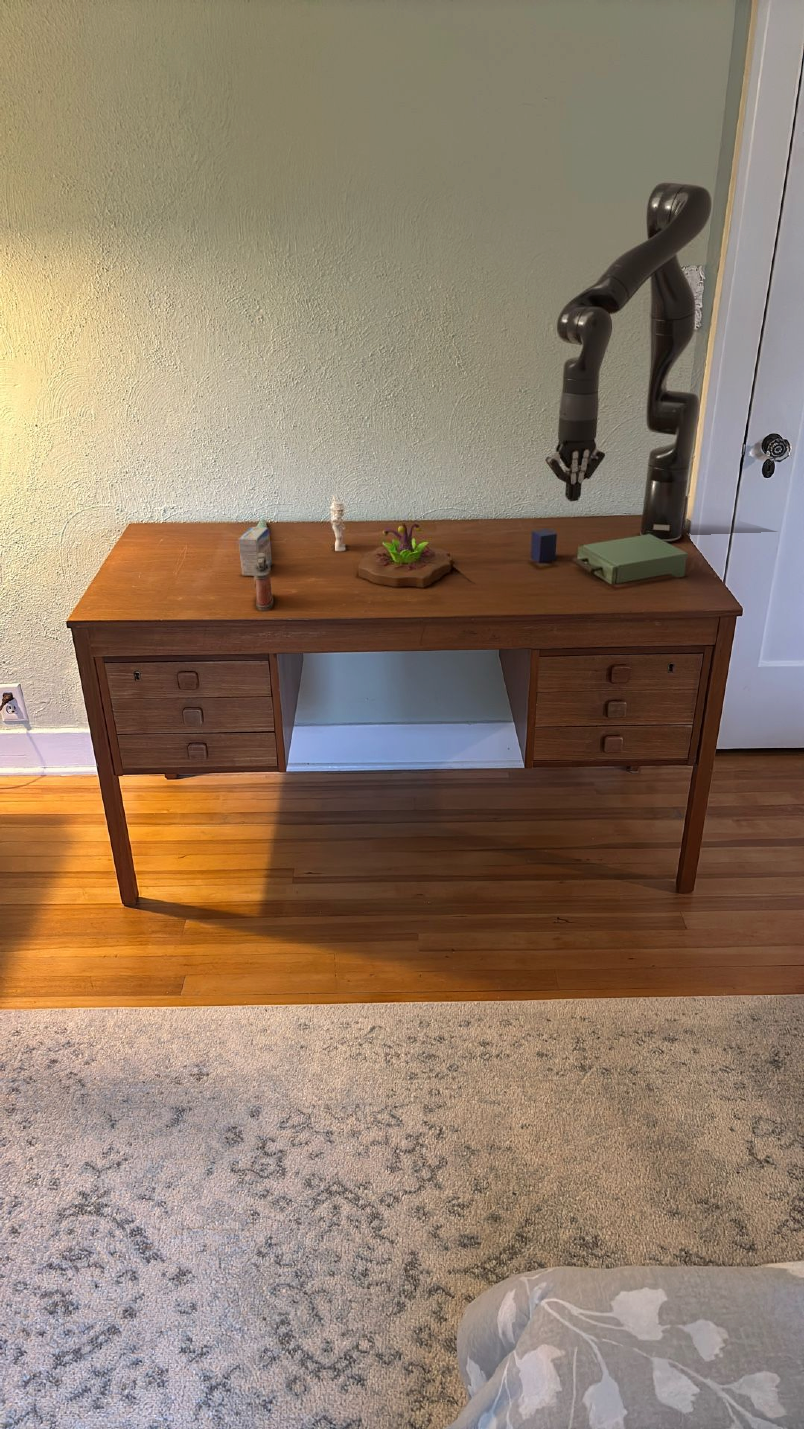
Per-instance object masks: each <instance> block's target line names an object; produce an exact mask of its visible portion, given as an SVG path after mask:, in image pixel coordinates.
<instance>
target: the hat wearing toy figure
mask: <svg viewBox="0 0 804 1429" xmlns="http://www.w3.org/2000/svg"><path fill="white" fill-rule="evenodd" d="M336 500H337V499H336V497H335V496H334V495H332V499H331V505H330V506H329V510H330V515H331V517H330V520H331V521H330V524H331V530H332V531H333V532H334V535H335V543H334V551H335V552H346V549H347V548H346V543H344V537H343V535H344V534H343V533H344V531H343V530H345V529H346V524H344V516H345V511H346V509H347V506H345V505H344V503H342V502H340V501H336Z"/></svg>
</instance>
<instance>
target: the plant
mask: <svg viewBox="0 0 804 1429" xmlns="http://www.w3.org/2000/svg"><path fill="white" fill-rule="evenodd" d="M414 528H415V531H416V532H420V531H421V530H422V527H421V525H420V524H418V523H413V524H411V526H410V527H409V530H408V528H407V525H406V523H401V524H400V525H399V526H398V528H397V530H398V531H396V530H394V529H393V528H385V529H383V530H382V535H383V536H384V537H385V536H386V537H387V536H388V535H389V533H392V534H393V535H394V536H395V537H396V538H398V540H396V539H394V538H393V539H392V543H390V542H387V541H382V545H383V546H378V547H376V549H375V550H372V551H369V552H366V553H365V554H364V556H363V557H362V559H361V560H360V562H359V564H358V570H357V571H358V577H359V578H360V579H365V580H367V581H369V582H370V583H373V584H375V585H380V586H388V587H393V588H402V587H413V588H422V589H423V588H425V587H429V586H431V585H432V584H433V583H435V582H436V581H438V580H440V579H441V578H442V577H443V576H444V575H446V574H450V573H451V570H452V569H453V565H452V564H453V558H452V557H451V553H450V552H449V551H446V550H444V549H441V548H437V547H436V548H435V547H431V546H427V545H428V544H429V541H423V542H421V543H419V544H416V539H415V538H414V537H412V536H413V531H414ZM401 534H402V535H401Z"/></svg>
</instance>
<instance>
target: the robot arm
mask: <svg viewBox="0 0 804 1429" xmlns="http://www.w3.org/2000/svg"><path fill="white" fill-rule="evenodd" d="M712 201H713V200H712V196H711V193H710V192H709V190H708V189H707V188H706V187H704V186H700V185H696V184H688V183H678V182H660V183H658V184H657V185H655V186H654V188H653V189H652V190H651V193H650V194H649V197H648V201H647V205H646V212H645V213H646V214H645V216H646V217H645V226H646V237H647V238H646V240H645V241H643V242H641V243H640V244H637V245H636V246H634V247H632V248H631V249H629V250H628V251H625V252H624V253H622V254H621V255H620V256H618V258H616V259H615V260H614V261H613V262H611V264H610V265H609V266H608V268H607V269H606V270H605V271H604V272H603V273H602V274H601V276H600V277H599V278H598V279H597V281H595V283H594V284H592V285H590V286H589V287H588V288H586V289H585V290H583V291H582V292H580V293H579V294H577V295H576V296H575V297H573V298H572V299H571V300H570V301H569V302H568V303H566V305H564V307H563V308H562V309H561V311H560V313H559V314H558V317H557V321H556V325H555V327H556V329H555V330H556V334H557V336H558V337H559V339H560V340H561V341H562V342H564V343H567V344H570V345H571V344H572V345H578V346H581V351H580V353H579V356H574V357H570V358H568V359H566V360H565V362H564V364H563V368H562V378H561V393H560V399H559V406H558V408H559V409H558V424H557V425H558V427H557V430H558V431H557V439H558V442H557V446H556V447H555V452H554V453H553V454H552V455H551V456H546V457H545V463H546V464H547V466H548V467H549V468H550V469H551V471H552V472H553V474H554V475H555V476H556V478H557V479H558V480H560V481H562V482H563V483H565V491H564V496H565V498H566V500H568V501H569V502H578V501H579V498H581V495H582V485H583V482H584V481H585V480H589V479H591V478H592V476H593V475H594V473H595V471H596V470H597V469H598V467H599V466H600V464H601V463H602V461H604V458H605V457H606V453H605V452H603V451H601V450H599V449H598V448H597V443H596V440H595V439H596V438H597V431H598V430H597V429H598V419H599V418H598V417H599V416H598V415H599V406H600V405H599V402H600V401H599V387H600V370H601V367H602V365H603V362H604V359H605V355H606V352H607V348H608V346H609V343H610V340H611V337H612V332H613V321H612V320H613V319H612V316H611V315H613V314H617V313H619V312H620V311H622V309H623V308H625V306H626V305H627V304H628V303H629V301H631V299H632V298H633V297H634V296H635V294H636V293H637V292H638V291H639V290H640V288H641V287H642V286H643V285H644V284H645V283H646V281H648V279H649V315H648V317H649V318H648V319H649V320H648V323H649V324H648V329H649V330H648V334H649V335H648V336H649V367H648V368H649V369H648V370H649V371H648V383H647V392H646V393H647V395H646V403H645V404H646V405H645V422H646V427H647V429H648V430H649V431H650V432H651V433H656V434H663V435H671V436H675V440H674V442H673V443H671V444H668V445H667V444H666V445H663V446H660V447H656V448H653V449H652V450H650V452H649V454H648V459H647V470H646V480H645V487H644V497H643V504H642V505H643V506H642V514H641V515H642V516H641V524H640V530H639V536H641V535H648V534H651V535H653V536H655V537H657V538H659V539H660V540H662V541H664V542H666V543H668V544H670V543H675V542H678V541H680V540H681V537H683V535H684V528H685V521H686V513H687V506H688V496H687V489H688V481H689V474H690V473H689V471H690V464H691V458H692V454H693V448H694V441H695V436H696V430H697V426H698V425H697V424H698V420H699V419H698V418H699V413H700V399H699V395H697V394H696V393H694V392H686V391H678V390H668V388H667V384H668V378H669V374H670V372H671V370H672V369H673V367H674V365H675V364H676V363H677V361H678V360H679V358H680V357H681V355H682V354H683V353H684V352H685V350H686V349H687V347H688V346H689V344H690V342H691V340H692V339H693V337H694V334H695V327H696V298H695V297H696V296H695V294H694V292H693V289H692V287H691V284H690V282H689V281H688V278H687V276H686V274H685V272H684V271H683V270H684V269H683V268H682V266H681V264H680V260H679V258H678V253H679V252H680V251H681V250H683V249H684V248H685V247H686V246H687V245H689V244H690V243H691V242H692V241H693V240H695V238H696V237H697V236H698V235H700V234H701V232H702V231H703V230H704V228H705V227H706V225H707V224H708V221H709V219H710V216H711V213H712ZM561 462H562V463H563V468H562V466H561V464H562V463H561Z"/></svg>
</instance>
